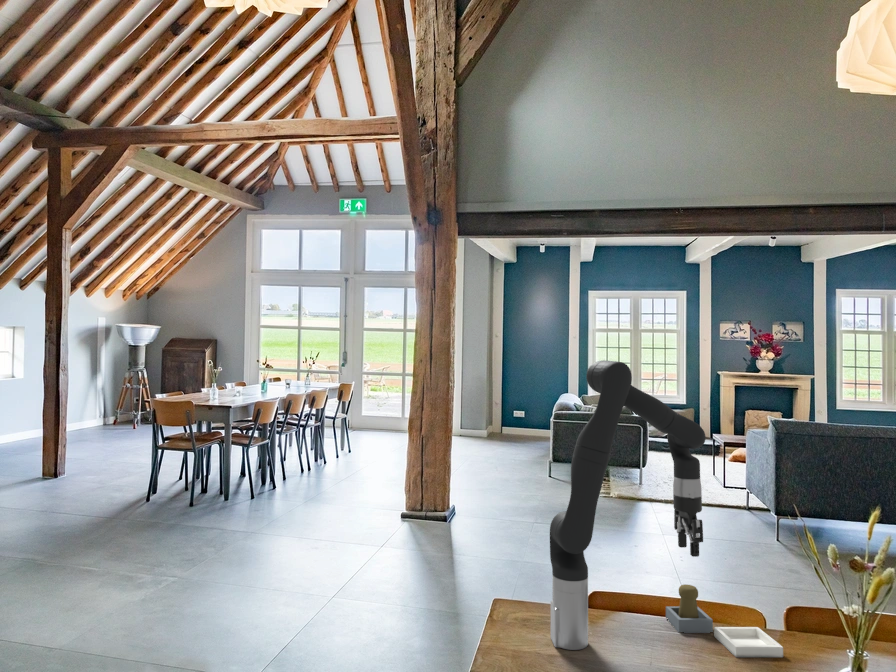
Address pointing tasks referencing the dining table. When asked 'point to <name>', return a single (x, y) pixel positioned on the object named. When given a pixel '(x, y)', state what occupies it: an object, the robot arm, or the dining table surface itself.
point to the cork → (688, 601)
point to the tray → (748, 642)
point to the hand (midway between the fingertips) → (688, 551)
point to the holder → (689, 621)
